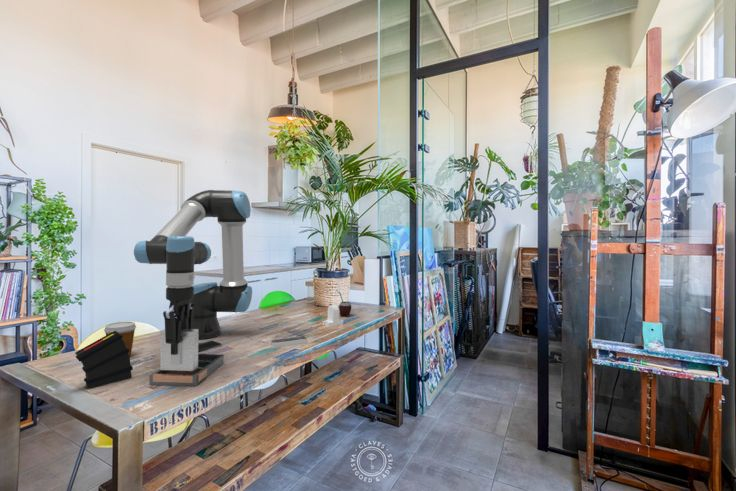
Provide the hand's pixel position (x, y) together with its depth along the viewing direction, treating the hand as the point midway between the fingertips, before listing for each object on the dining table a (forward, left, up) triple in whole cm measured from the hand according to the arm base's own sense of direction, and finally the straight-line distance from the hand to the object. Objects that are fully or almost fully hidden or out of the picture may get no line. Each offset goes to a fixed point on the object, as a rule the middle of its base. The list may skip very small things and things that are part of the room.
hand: (179, 361), depth 106 cm
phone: (-9, +30, -6) cm, 32 cm away
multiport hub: (+24, +39, -7) cm, 46 cm away
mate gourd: (+43, +92, -6) cm, 102 cm away
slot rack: (0, +6, -6) cm, 8 cm away
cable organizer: (+39, +73, -6) cm, 83 cm away
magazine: (-21, -3, -6) cm, 22 cm away
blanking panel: (0, 0, -2) cm, 2 cm away
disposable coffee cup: (-32, +18, -6) cm, 37 cm away
